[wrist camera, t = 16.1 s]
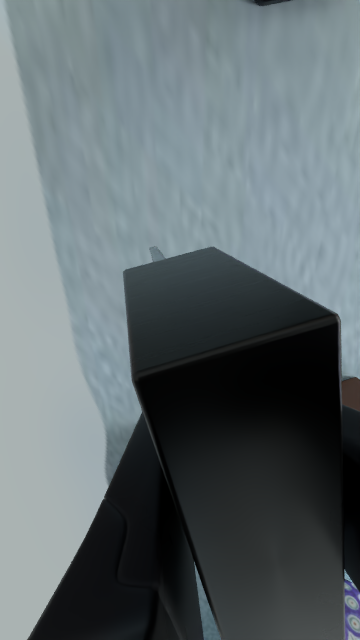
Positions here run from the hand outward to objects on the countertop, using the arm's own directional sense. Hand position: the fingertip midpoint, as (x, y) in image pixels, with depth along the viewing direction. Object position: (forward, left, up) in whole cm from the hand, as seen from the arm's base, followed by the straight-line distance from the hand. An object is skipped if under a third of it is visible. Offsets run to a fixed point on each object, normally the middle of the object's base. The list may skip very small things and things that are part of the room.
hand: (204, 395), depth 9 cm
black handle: (0, 0, -6) cm, 6 cm away
